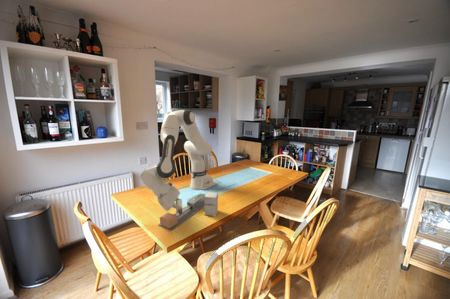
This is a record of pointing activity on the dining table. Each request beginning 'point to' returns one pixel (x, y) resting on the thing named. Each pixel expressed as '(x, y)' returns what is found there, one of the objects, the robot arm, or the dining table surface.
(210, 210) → the supplement box
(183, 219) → the charcoal board
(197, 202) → the steel sleeve
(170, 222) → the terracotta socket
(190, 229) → the dining table surface
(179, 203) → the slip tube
